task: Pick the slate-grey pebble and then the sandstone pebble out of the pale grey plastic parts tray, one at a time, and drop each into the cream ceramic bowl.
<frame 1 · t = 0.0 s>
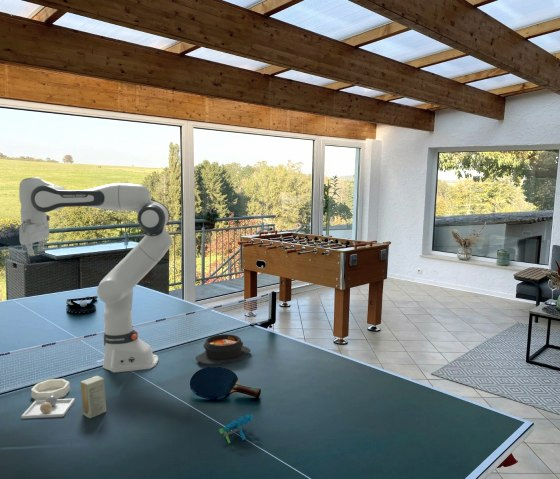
hand: (36, 252, 197), 48 cm above the table, fingers open, 8 cm apart
pebble slate: (52, 405, 168), point 1 cm above the table, touching parts tray
skincare box: (94, 415, 163), on the table
casserole: (223, 358, 211), on the table
blue plastic piece: (236, 436, 149), on the table
bowl: (51, 395, 177), on the table
parts tray: (49, 411, 165), on the table
pebble sand: (46, 412, 163), point 1 cm above the table, touching parts tray
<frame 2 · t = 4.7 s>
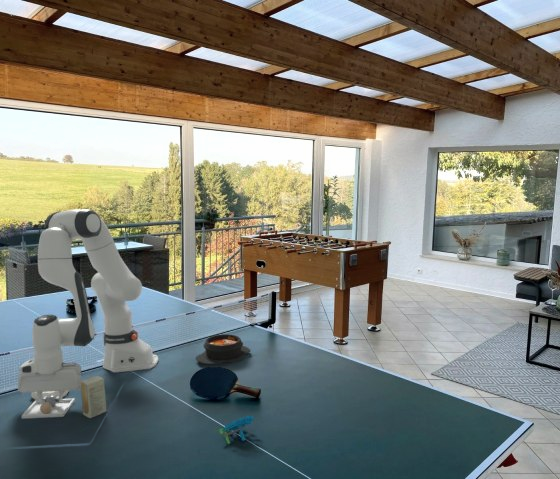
hand: (51, 402, 168), 2 cm above the table, fingers closed on pebble slate, 4 cm apart
pebble slate: (52, 405, 168), point 1 cm above the table, touching gripper, parts tray
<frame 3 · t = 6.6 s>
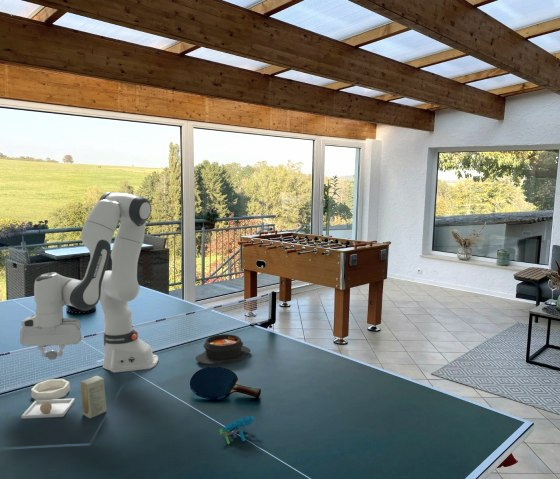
hand: (52, 356, 176), 15 cm above the table, fingers closed on pebble slate, 4 cm apart
pebble slate: (52, 359, 176), point 13 cm above the table, touching gripper
everything else where it was.
when the fingers open (4 cm above the table, at t = 8.4 s): pebble slate drops 2 cm, resting on bowl.
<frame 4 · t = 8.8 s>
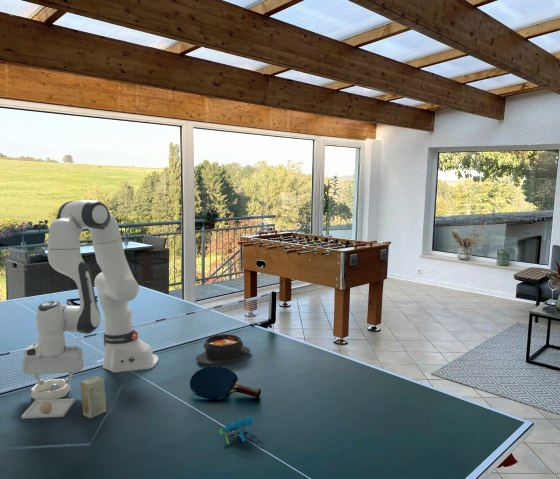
hand: (54, 384, 177), 4 cm above the table, fingers open, 8 cm apart
pebble slate: (55, 393, 178), point 1 cm above the table, touching bowl
everything else where it was.
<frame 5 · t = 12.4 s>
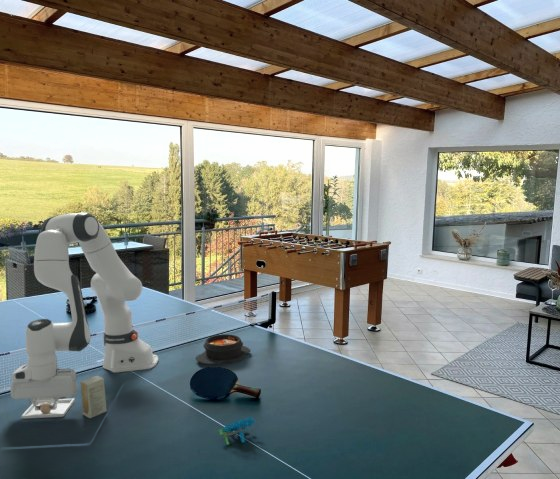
hand: (46, 409, 163), 2 cm above the table, fingers closed on pebble sand, 4 cm apart
pebble slate: (55, 393, 178), point 1 cm above the table, tilted 14°, touching bowl
pebble sand: (46, 412, 163), point 1 cm above the table, touching gripper, parts tray
when the fingers open (4 cm above the table, at t = 16.4 s): pebble sand drops 2 cm, resting on bowl.
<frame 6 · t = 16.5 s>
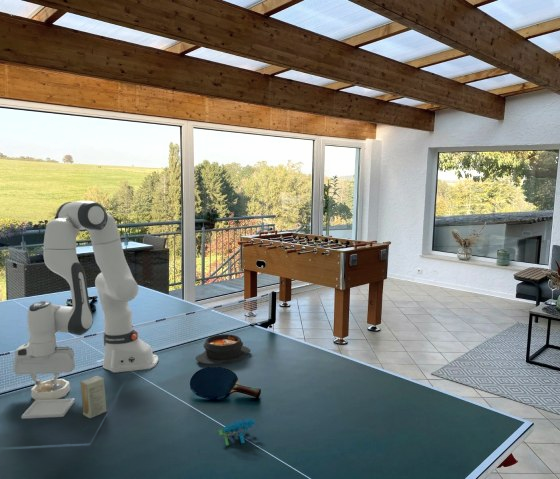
hand: (46, 384, 177), 4 cm above the table, fingers open, 4 cm apart
pebble slate: (55, 392, 177), point 1 cm above the table, tilted 34°, touching bowl, gripper
pebble sand: (46, 393, 177), point 1 cm above the table, touching bowl
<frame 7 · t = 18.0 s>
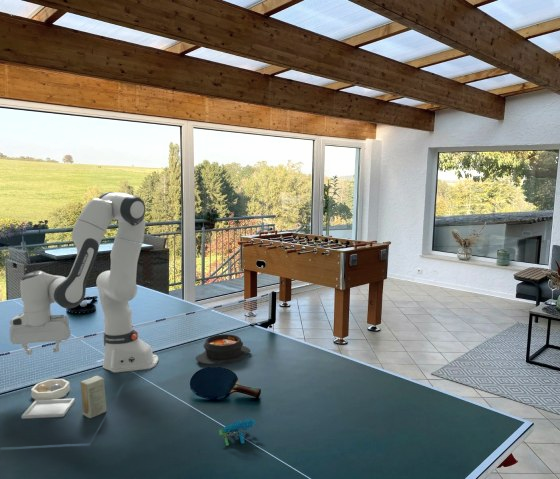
hand: (43, 353, 179), 15 cm above the table, fingers open, 8 cm apart
pebble slate: (55, 392, 177), point 1 cm above the table, tilted 24°, touching bowl
pebble sand: (46, 392, 177), point 1 cm above the table, tilted 43°, touching bowl
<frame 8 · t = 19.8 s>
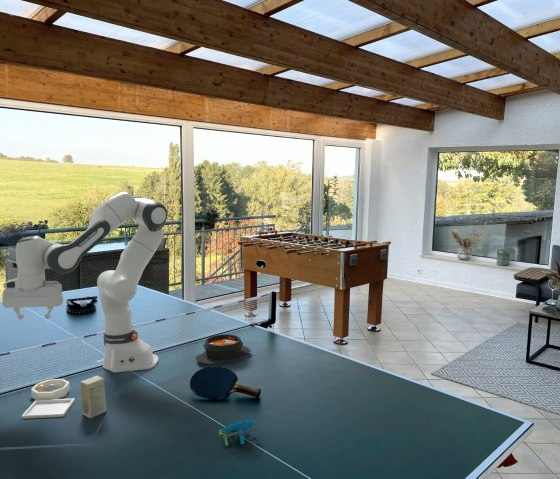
hand: (34, 318, 179), 27 cm above the table, fingers open, 8 cm apart
pebble slate: (55, 392, 177), point 1 cm above the table, tilted 30°, touching bowl
pebble sand: (45, 391, 177), point 1 cm above the table, tilted 56°, touching bowl
at the end: pebble slate inside the target area on the bowl (1.4 cm from its centre), point 0.8 cm above the bowl's base; pebble sand inside the target area on the bowl (1.7 cm from its centre), point 1.4 cm above the bowl's base; the gripper is holding nothing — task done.
